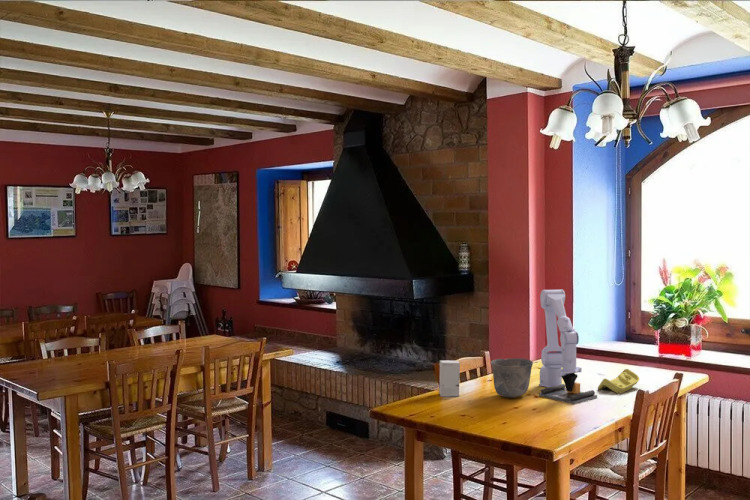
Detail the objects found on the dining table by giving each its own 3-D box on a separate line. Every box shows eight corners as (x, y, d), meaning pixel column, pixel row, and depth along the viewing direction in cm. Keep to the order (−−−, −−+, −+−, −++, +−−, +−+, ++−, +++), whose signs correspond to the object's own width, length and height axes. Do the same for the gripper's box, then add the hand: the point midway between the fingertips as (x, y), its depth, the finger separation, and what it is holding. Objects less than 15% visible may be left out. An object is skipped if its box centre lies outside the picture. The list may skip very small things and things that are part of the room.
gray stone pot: (502, 389, 310) (502, 356, 310) (539, 394, 300) (539, 360, 300) (484, 397, 296) (484, 362, 295) (523, 403, 286) (523, 367, 285)
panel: (538, 395, 298) (538, 392, 298) (562, 390, 308) (562, 387, 308) (574, 404, 284) (574, 401, 284) (597, 397, 294) (597, 394, 294)
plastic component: (621, 389, 299) (602, 376, 305) (615, 403, 302) (596, 389, 308) (643, 378, 312) (624, 366, 318) (637, 392, 315) (618, 379, 321)
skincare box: (440, 397, 298) (440, 362, 298) (439, 393, 304) (438, 359, 304) (460, 396, 299) (460, 362, 298) (458, 393, 305) (457, 359, 304)
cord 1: (539, 393, 298) (539, 388, 298) (561, 388, 307) (561, 383, 307) (543, 394, 296) (543, 389, 296) (565, 388, 305) (565, 384, 305)
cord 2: (568, 400, 286) (568, 395, 286) (590, 394, 295) (590, 389, 295) (573, 401, 284) (573, 396, 284) (594, 395, 293) (594, 390, 293)
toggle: (567, 391, 299) (567, 381, 299) (571, 390, 301) (571, 380, 301) (575, 393, 296) (575, 383, 295) (580, 392, 298) (580, 382, 297)
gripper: (566, 363, 288) (566, 395, 289) (587, 358, 297) (587, 390, 298) (552, 360, 294) (552, 392, 294) (573, 356, 303) (573, 387, 303)
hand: (569, 391), depth 296 cm, fingers closed
